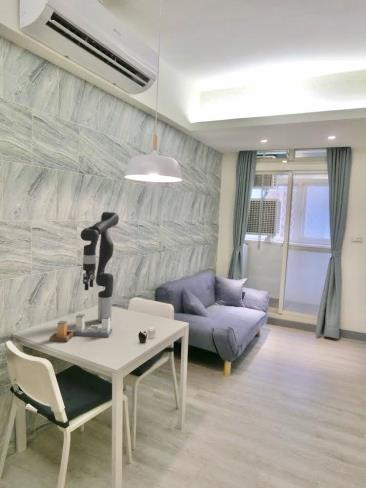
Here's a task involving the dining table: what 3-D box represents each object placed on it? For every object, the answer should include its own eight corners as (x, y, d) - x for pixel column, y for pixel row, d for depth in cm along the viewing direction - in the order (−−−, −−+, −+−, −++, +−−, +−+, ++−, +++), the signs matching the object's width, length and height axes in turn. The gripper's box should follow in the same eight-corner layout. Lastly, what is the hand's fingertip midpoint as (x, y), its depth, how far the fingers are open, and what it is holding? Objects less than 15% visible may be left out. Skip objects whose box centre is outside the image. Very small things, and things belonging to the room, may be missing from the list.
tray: (57, 334, 194) (57, 330, 194) (73, 335, 194) (73, 331, 194) (50, 340, 184) (50, 336, 184) (67, 342, 184) (67, 337, 184)
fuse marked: (60, 335, 191) (60, 320, 190) (67, 335, 191) (67, 321, 190) (57, 337, 187) (57, 322, 186) (64, 338, 187) (64, 323, 186)
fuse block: (78, 329, 203) (78, 312, 202) (112, 331, 203) (112, 314, 202) (72, 335, 195) (72, 317, 194) (108, 337, 194) (108, 319, 193)
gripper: (87, 260, 202) (86, 285, 203) (79, 263, 188) (78, 291, 189) (99, 260, 202) (98, 286, 203) (91, 264, 187) (91, 291, 189)
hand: (88, 288), depth 196 cm, fingers open, 8 cm apart
